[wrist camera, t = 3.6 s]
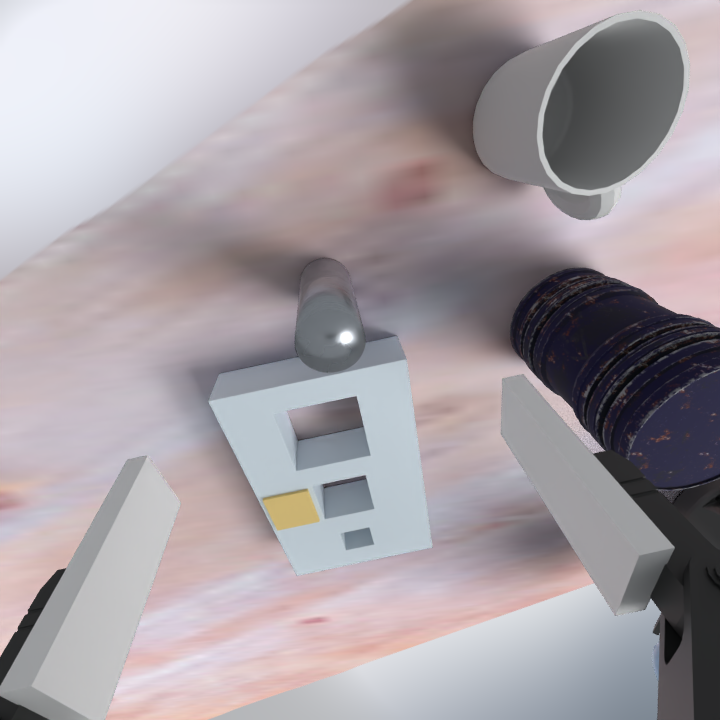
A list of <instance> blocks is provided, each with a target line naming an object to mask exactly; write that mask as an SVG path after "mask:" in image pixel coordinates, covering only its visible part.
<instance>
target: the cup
mask: <svg viewBox="0 0 720 720" xmlns="http://www.w3.org/2000/svg"><path fill="white" fill-rule="evenodd" d="M689 76H690V61H689V56H688V52H687V47H686V43H685V41H684V39H683V37H682V36H681V34H680V32H679V31H678V29H677V27H676V26H675V25H674V24H673V23H672V22H670V21H669V20H667V19H666V18H664V17H663V16H662V15H660V14H657V13H652V12H647V11H642V10H638V11H632V12H627V13H621V14H617V15H615V16H612V17H610V18H607V19H605V20H602V21H600V22H597V23H595V24H592V25H590V26H587V27H585V28H582V29H580V30H577V31H575V32H572V33H570V34H567V35H565V36H562V37H560V38H557V39H555V40H552V41H550V42H547V43H545V44H542V45H540V46H537V47H535V48H532V49H530V50H527V51H525V52H523V53H521V54H519V55H517V56H516V57H514V58H512V59H510V60H508V61H507V62H506V63H505V64H504V65H502V66H501V67H500V68H499V69H498V70H497V71H496V72H495V73H494V74H493V75H492V77H491V78H490V80H489V81H488V82H487V84H486V85H485V87H484V88H483V91H482V93H481V95H480V98H479V100H478V102H477V105H476V109H475V114H474V118H473V140H474V144H475V148H476V152H477V154H478V156H479V157H480V159H481V161H482V163H483V164H484V165H485V166H486V167H487V168H488V169H489V170H490V171H491V172H492V173H495V174H497V175H499V176H501V177H503V178H506V179H509V180H514V181H518V182H522V183H527V184H531V185H536V186H540V187H543V188H544V190H545V192H546V194H547V196H548V197H549V198H550V200H551V201H552V202H553V204H554V205H555V206H556V207H557V208H559V209H560V210H561V211H562V212H564V213H565V214H567V215H569V216H571V217H573V218H576V219H580V220H592V219H598V218H601V217H604V216H606V215H608V214H609V213H610V212H611V211H612V209H613V208H614V207H615V206H616V204H617V202H618V201H619V199H620V197H621V188H622V185H625V184H626V183H627V182H629V181H630V180H632V179H633V178H634V177H636V176H637V175H638V174H640V173H641V172H642V171H643V170H644V169H645V168H646V167H647V166H648V165H649V164H650V163H651V162H652V161H653V160H654V159H655V158H656V157H657V156H658V155H659V153H660V152H661V150H662V149H663V147H664V146H665V144H666V143H667V141H668V140H669V138H670V137H671V135H672V134H673V132H674V130H675V127H676V125H677V123H678V121H679V119H680V116H681V114H682V112H683V109H684V105H685V101H686V97H687V93H688V89H689Z"/></svg>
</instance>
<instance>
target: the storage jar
mask: <svg viewBox="0 0 720 720" xmlns="http://www.w3.org/2000/svg"><path fill="white" fill-rule="evenodd" d="M510 337H511V342H512V346H513V348H514V349H515V351H516V353H517V354H518V355H519V356H520V357H521V358H522V359H523V360H524V361H525V362H526V364H527V366H528V367H529V369H530V370H531V371H532V372H533V373H534V374H535V375H536V376H537V378H538V379H540V380H541V381H542V382H543V384H544V385H545V386H546V387H547V388H549V389H550V390H551V391H553V392H554V393H555V394H557V395H559V396H561V397H562V398H563V399H564V400H565V401H566V402H567V403H568V404H569V405H570V406H571V407H572V408H573V410H574V413H575V415H576V417H577V418H578V420H579V422H580V424H581V425H582V426H583V427H584V429H585V430H587V431H588V432H589V433H590V434H591V435H592V437H593V438H594V439H595V440H596V441H597V442H598V443H599V445H600V446H601V447H602V448H603V449H604V450H605V451H608V450H612V451H614V452H616V453H618V454H619V455H621V456H623V457H624V458H626V459H628V460H629V461H631V462H632V463H633V464H634V465H635V466H636V467H637V468H638V469H639V470H640V471H641V472H642V473H643V474H644V475H645V477H646V479H647V480H649V481H650V482H651V483H652V484H653V485H654V486H655V487H656V488H657V489H658V490H664V491H672V490H682V489H687V488H692V487H696V486H700V485H703V484H706V483H709V482H712V481H715V480H717V479H719V478H720V328H718V327H715V326H714V325H712V324H711V323H710V322H708V321H705V320H703V319H700V318H695V317H692V316H689V315H682V314H676V313H674V312H672V311H670V310H668V309H666V308H664V307H662V306H660V305H658V303H657V302H656V301H655V300H654V299H653V298H652V297H650V296H649V295H648V294H646V293H645V292H644V291H642V290H641V289H638V288H636V287H633V286H631V285H629V284H627V283H625V282H622V281H620V280H617V279H615V278H610V277H607V276H605V275H604V274H602V273H600V272H597V271H595V270H592V269H587V268H573V269H567V270H564V271H560V272H557V273H555V274H553V275H551V276H549V277H547V278H546V279H544V280H542V281H541V282H540V283H538V284H537V285H536V286H535V287H533V288H532V289H531V290H530V291H529V292H528V293H527V294H526V296H525V297H524V298H523V300H522V301H521V302H520V304H519V306H518V307H517V309H516V311H515V313H514V316H513V319H512V323H511V329H510Z"/></svg>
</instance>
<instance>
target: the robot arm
mask: <svg viewBox="0 0 720 720" xmlns="http://www.w3.org/2000/svg"><path fill="white" fill-rule="evenodd" d="M501 435H502V437H503V438H504V440H505V441H506V443H507V445H508V446H509V448H510V449H511V451H512V453H513V454H514V456H515V457H516V459H517V460H518V462H519V464H520V465H521V467H522V468H523V470H524V472H525V473H526V475H527V476H528V478H529V480H530V481H531V483H532V484H533V486H534V488H535V489H536V491H537V492H538V494H539V495H540V497H541V499H542V500H543V502H544V503H545V505H546V507H547V508H548V510H549V511H550V513H551V515H552V516H553V518H554V519H555V521H556V523H557V524H558V526H559V527H560V529H561V530H562V532H563V534H564V535H565V537H566V538H567V540H568V542H569V543H570V545H571V546H572V548H573V550H574V551H575V553H576V554H577V556H578V558H579V559H580V561H581V562H582V564H583V565H584V567H585V569H586V570H587V572H588V573H589V575H590V577H591V578H592V580H593V581H594V583H595V585H596V586H597V588H598V589H599V591H600V592H601V594H602V596H603V597H604V599H605V600H606V602H607V604H608V605H609V607H610V608H611V610H612V612H613V613H614V615H615V616H618V615H623V614H627V613H631V612H636V611H641V610H645V609H646V607H647V605H648V603H649V601H650V599H652V600H653V601H654V603H655V604H656V605H657V607H658V608H659V610H660V611H661V612H662V613H661V615H660V617H659V618H658V620H657V622H656V624H655V627H654V630H653V633H654V634H656V635H659V633H660V642H658V643H657V644H656V645H655V646H654V649H653V653H652V662H653V668H654V671H655V674H656V677H657V680H658V717H657V718H658V719H657V720H720V478H719V479H717V480H715V481H712V482H709V483H706V484H703V485H700V486H696V487H692V488H687V489H685V490H684V491H683V492H682V493H681V494H680V496H679V497H678V498H677V499H676V501H675V502H674V504H672V503H671V502H670V501H669V500H668V499H667V498H666V497H665V496H664V495H663V494H662V493H661V492H660V493H659V492H658V489H657V488H656V487H655V486H654V485H653V484H652V483H651V482H650V481H649V480H647V479H646V477H645V475H644V474H643V473H642V472H641V471H640V470H639V469H638V468H637V467H636V466H635V465H634V464H633V463H632V462H631V461H629V460H628V459H626V458H624V457H623V456H621V455H619V454H618V453H616V452H614V451H612V450H608V451H604V452H599V453H594V454H592V452H591V451H590V450H589V449H588V448H587V447H586V446H585V444H584V443H583V442H582V441H581V440H580V439H579V438H578V436H577V435H576V434H575V433H574V432H573V431H572V430H571V428H570V427H569V426H568V425H567V424H566V423H565V422H564V420H563V419H562V418H561V417H560V416H559V415H558V414H557V412H556V411H555V410H554V409H553V408H552V407H551V406H550V404H549V403H548V402H547V401H546V400H545V399H544V398H543V397H542V395H541V394H540V393H539V392H538V391H537V390H536V389H535V387H534V386H533V385H532V384H531V383H530V382H529V381H528V379H527V378H526V377H525V376H524V375H523V374H522V375H517V376H513V377H508V378H503V379H502V407H501ZM180 505H181V502H180V500H179V499H178V498H177V496H176V495H175V493H174V492H173V490H172V489H171V487H170V486H169V485H168V483H167V482H166V480H165V479H164V477H163V476H162V474H161V473H160V472H159V470H158V469H157V467H156V466H155V464H154V463H153V462H152V460H151V459H150V457H149V456H148V455H147V456H142V457H137V458H133V459H128V460H127V461H126V463H125V465H124V467H123V468H122V470H121V472H120V474H119V476H118V477H117V479H116V481H115V483H114V485H113V486H112V488H111V490H110V492H109V493H108V495H107V497H106V499H105V501H104V502H103V504H102V506H101V508H100V509H99V511H98V513H97V515H96V517H95V518H94V520H93V522H92V524H91V525H90V527H89V529H88V531H87V533H86V534H85V536H84V538H83V540H82V541H81V543H80V545H79V547H78V549H77V550H76V552H75V554H74V556H73V557H72V559H71V561H70V563H69V565H68V566H67V568H65V569H61V570H57V571H56V573H55V574H54V575H53V576H52V577H51V578H50V579H49V580H48V582H47V583H46V584H45V585H44V586H43V587H42V588H41V589H40V591H39V593H38V594H37V596H36V598H35V599H34V601H33V603H32V604H31V606H30V608H29V609H28V614H27V615H25V616H24V618H23V620H22V621H21V623H20V625H19V626H18V631H17V632H15V633H14V635H13V636H12V638H11V640H10V641H9V643H8V645H7V647H6V648H5V650H4V652H3V653H2V655H1V657H0V720H105V718H106V715H107V712H108V710H109V707H110V704H111V701H112V698H113V695H114V692H115V690H116V687H117V684H118V681H119V678H120V675H121V673H122V670H123V667H124V664H125V661H126V658H127V655H128V653H129V650H130V647H131V644H132V641H133V638H134V636H135V633H136V630H137V627H138V624H139V621H140V618H141V616H142V613H143V610H144V607H145V604H146V601H147V599H148V596H149V593H150V590H151V587H152V584H153V581H154V579H155V576H156V573H157V570H158V567H159V564H160V562H161V559H162V556H163V553H164V550H165V547H166V544H167V542H168V539H169V536H170V533H171V530H172V527H173V525H174V522H175V519H176V516H177V513H178V510H179V507H180Z"/></svg>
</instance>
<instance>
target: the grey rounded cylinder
mask: <svg viewBox="0 0 720 720" xmlns="http://www.w3.org/2000/svg"><path fill="white" fill-rule="evenodd" d="M365 341H366V339H365V334H364V330H363V326H362V322H361V318H360V314H359V310H358V306H357V302H356V298H355V294H354V290H353V286H352V282H351V279H350V275H349V273H348V271H347V269H346V268H345V267H344V266H343V265H342V264H341V263H340V262H338V261H336V260H333V259H328V258H322V259H317V260H315V261H313V262H311V263H310V264H308V265H307V266H306V268H305V269H304V271H303V272H302V275H301V279H300V289H299V300H298V310H297V321H296V331H295V349H296V352H297V354H298V356H299V358H300V359H301V360H302V362H303V363H304V364H306V365H307V366H308V367H310V368H312V369H314V370H316V371H319V372H324V373H334V372H340V371H343V370H345V369H347V368H349V367H351V366H352V365H354V364H355V363H356V362H357V361H358V360H359V359H360V357H361V356H362V354H363V352H364V349H365Z"/></svg>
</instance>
